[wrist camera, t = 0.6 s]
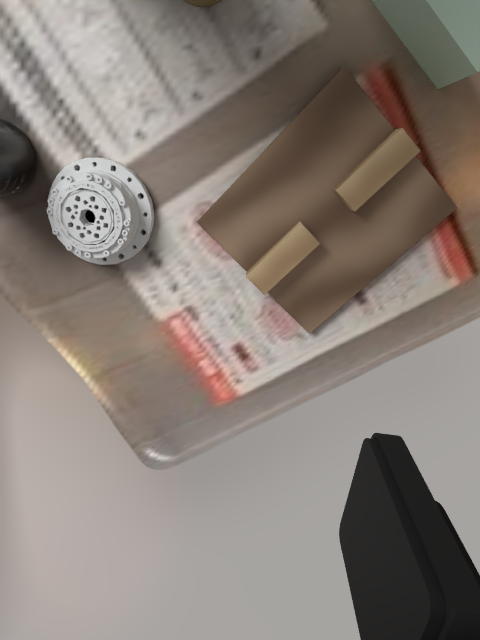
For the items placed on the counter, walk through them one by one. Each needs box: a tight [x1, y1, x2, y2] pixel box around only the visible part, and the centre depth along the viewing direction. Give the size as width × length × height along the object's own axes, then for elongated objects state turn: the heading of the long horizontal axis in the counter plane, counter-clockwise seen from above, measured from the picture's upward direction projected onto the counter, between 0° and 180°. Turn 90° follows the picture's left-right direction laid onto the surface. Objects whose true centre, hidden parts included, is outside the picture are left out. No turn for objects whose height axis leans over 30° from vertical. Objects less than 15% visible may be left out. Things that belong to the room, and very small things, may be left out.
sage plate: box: [371, 0, 480, 89], centre depth 30 cm, size 12×2×7 cm, turn 45°
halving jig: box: [197, 67, 457, 333], centre depth 38 cm, size 16×18×3 cm
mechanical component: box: [46, 158, 154, 265], centre depth 38 cm, size 10×4×10 cm
